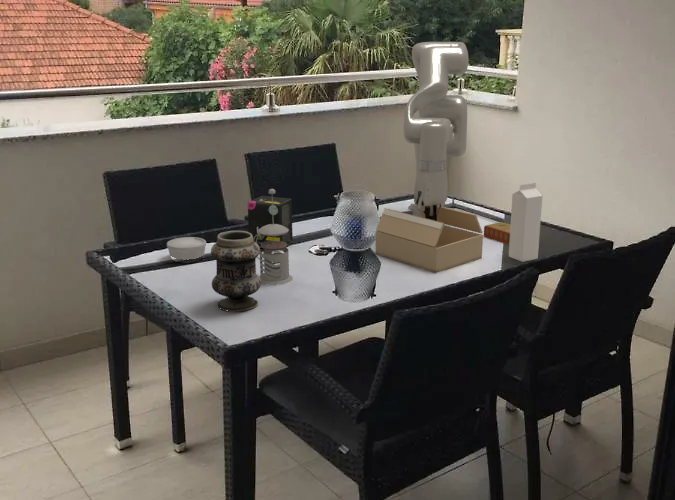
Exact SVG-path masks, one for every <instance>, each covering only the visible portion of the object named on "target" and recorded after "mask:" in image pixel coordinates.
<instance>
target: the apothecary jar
mask: <svg viewBox="0 0 675 500" xmlns="http://www.w3.org/2000/svg"><path fill="white" fill-rule="evenodd" d="M216 239H217V240H216V243H213V245H212V247H211V249H210V254H211V257H212V258H213V259H214V260H215V262H216V275H215V276H214V277H213V278H212V280H211V288H212V290H213V291H214V292H215V293H216V294H218V295H220V296H222V297H225V298H223V299H221V300H219V302H217V308H218V309H220V308H221V309H224V310H228V311H227V312H229V311H240V312H246V311H249V309H250V310H253V309H255V308H256V307H258V304H259V303H258V300H256V299H255V298H254V297H252V296H251V295H254V294H255V293H256V292H257V291H259V290H260V288H261V286H262V284H261V279H260V277H259V276H260V275H258V273H257V263H256V259H257V257H258V256H260V255H259V253H260V247H259V245H258V244H257V243H256V242H254V240H253V236H252V234H251V233H249V232H248V231H245V230H229V231H223V232H220V233H219V234H217V238H216ZM254 307H255V308H254ZM252 308H253V309H252ZM221 309H220V310H221ZM224 310H223V311H224ZM245 310H246V311H245Z"/></svg>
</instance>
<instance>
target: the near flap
mask: <svg viewBox="0 0 675 500" xmlns="http://www.w3.org/2000/svg"><path fill="white" fill-rule="evenodd" d="M444 225H446V224H445V223H442V222H438V221H434V220H430V219H426V218H422V217H418V216H414V215H412V214H410V213H406V212H402V211H398V210H394V209H391V208H387V207H384V209H383V212H382V214H381V217H380V219H379V222H378V224H377V227H376V229H375V231H381V232H384V233H388V234H391V235H395V236H398V237H402V238H405V239H409V240H412V241H416V242H419V243H423V244H426V245H430V246H433V247H436V245H437V242H438V240H439V237H440V235H441V232H442V229H443V227H444Z"/></svg>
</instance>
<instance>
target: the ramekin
mask: <svg viewBox="0 0 675 500" xmlns="http://www.w3.org/2000/svg"><path fill="white" fill-rule="evenodd" d="M206 245H207V241H206V240H205V239H204V238H201V237H195V236H183V237H176V238H173V239H170V240H168V241H167V242H166V247H167V249H168V254H169V256H170V255H171V256H172V257H174V258H176V259H183V260H186V259H187V260H189V259H196V258H199V257H201V256H203V255H204V256H205V252H206Z"/></svg>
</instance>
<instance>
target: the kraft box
mask: <svg viewBox="0 0 675 500" xmlns="http://www.w3.org/2000/svg"><path fill="white" fill-rule="evenodd" d="M483 241H484V234H481V233H477V232H473V231H469V230H466V229H462V228H458V227H454V226H450V225H446V224H444V227H443V229H442V232H441V235H440V237H439V240H438V242H437V245H436V247H433V246H430V245H426V244H423V243H419V242H416V241H412V240H409V239H405V238H402V237H398V236H395V235H391V234H388V233H384V232H381V231H377V230H375V254H376V255H378V256H382V257H385V258H388V259H390V260H394V261H398V262H400V263H404V264H406V265H409V266H413V267H415V268H420V269H423V270H425V271H429V272H432V273H434V274H438V273H441V272H442V271H443V272H444V271H447V270H449V269H451V268H452V269H453V268H455V267H458V266H461V265H464V264H467V263H471V262H473V261H477V260H479V259H483V245H484V244H483Z"/></svg>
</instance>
